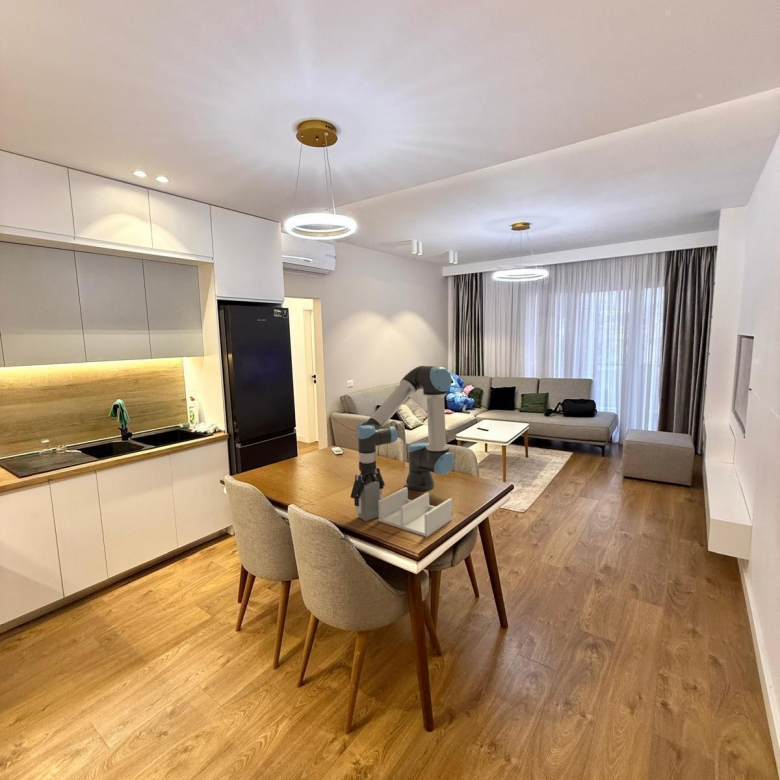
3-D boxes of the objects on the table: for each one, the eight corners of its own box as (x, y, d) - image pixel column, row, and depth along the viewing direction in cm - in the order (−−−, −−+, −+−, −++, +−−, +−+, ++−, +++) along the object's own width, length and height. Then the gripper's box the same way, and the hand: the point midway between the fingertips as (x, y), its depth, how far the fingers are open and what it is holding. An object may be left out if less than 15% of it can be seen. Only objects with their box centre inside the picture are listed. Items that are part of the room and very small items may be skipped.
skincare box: (365, 522, 176) (364, 486, 174) (356, 516, 182) (355, 482, 180) (381, 516, 181) (380, 482, 179) (372, 511, 187) (371, 478, 185)
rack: (405, 505, 192) (405, 487, 191) (452, 519, 177) (452, 498, 176) (378, 521, 177) (378, 500, 176) (427, 536, 161) (427, 514, 160)
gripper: (378, 453, 191) (380, 496, 193) (341, 466, 171) (342, 514, 174) (391, 455, 186) (392, 500, 188) (354, 469, 166) (355, 519, 169)
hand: (368, 507), depth 181 cm, fingers open, 13 cm apart
